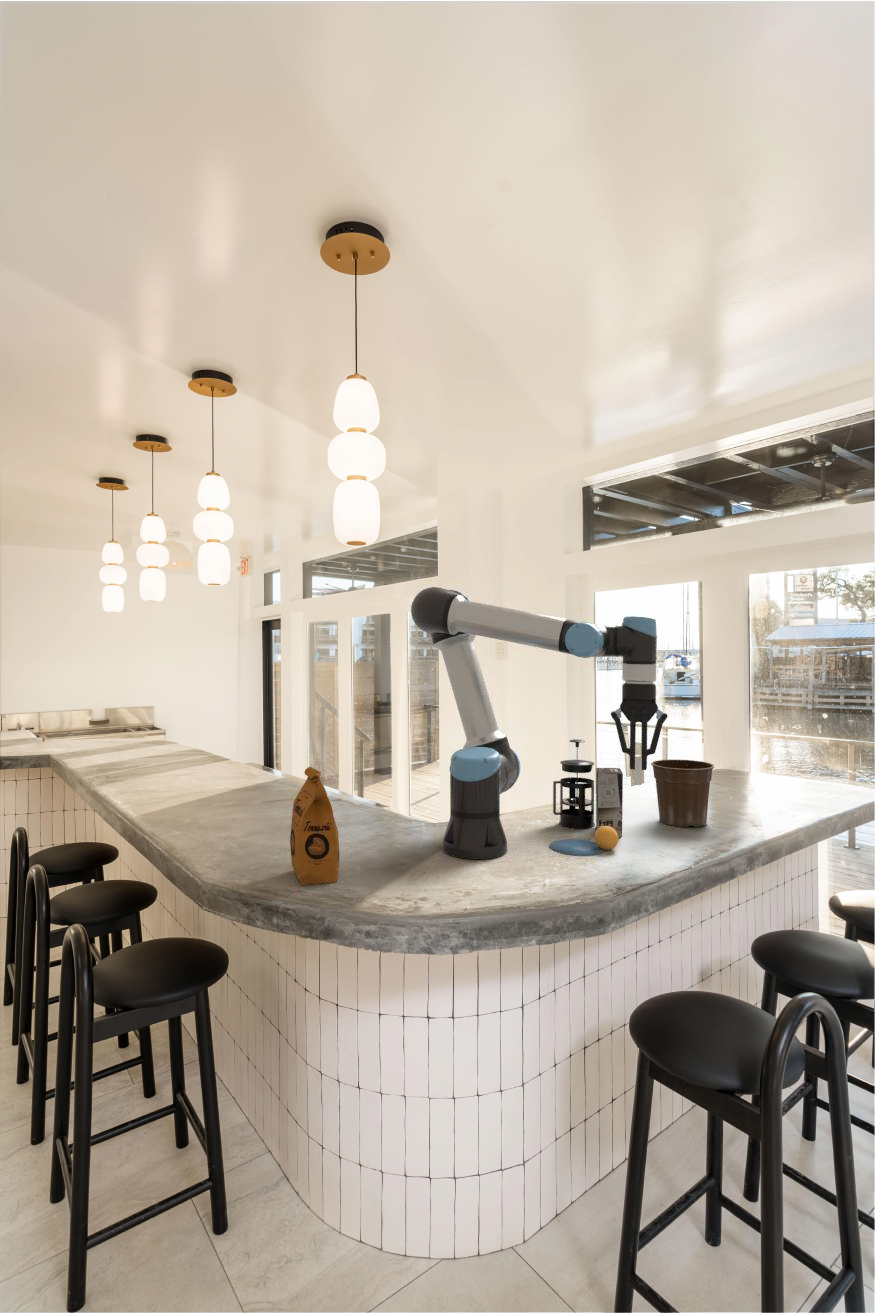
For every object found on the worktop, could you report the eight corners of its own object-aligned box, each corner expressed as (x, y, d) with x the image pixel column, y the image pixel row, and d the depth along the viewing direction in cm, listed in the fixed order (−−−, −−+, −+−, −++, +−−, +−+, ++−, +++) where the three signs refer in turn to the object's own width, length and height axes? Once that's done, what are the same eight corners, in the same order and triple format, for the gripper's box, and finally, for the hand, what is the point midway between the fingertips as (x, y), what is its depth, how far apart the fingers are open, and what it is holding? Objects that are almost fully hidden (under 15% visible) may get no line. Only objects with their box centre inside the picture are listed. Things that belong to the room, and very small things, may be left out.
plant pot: (642, 824, 181) (643, 764, 181) (660, 812, 194) (660, 757, 194) (705, 833, 172) (706, 771, 172) (719, 820, 185) (720, 762, 185)
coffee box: (623, 837, 168) (623, 773, 168) (596, 836, 169) (597, 772, 169) (620, 828, 177) (620, 767, 176) (595, 827, 178) (595, 766, 178)
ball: (621, 836, 154) (610, 856, 154) (623, 831, 159) (612, 851, 160) (600, 823, 156) (589, 844, 156) (602, 819, 161) (591, 839, 161)
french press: (590, 819, 185) (591, 737, 185) (602, 829, 176) (602, 741, 176) (549, 820, 184) (549, 737, 184) (558, 829, 175) (558, 742, 175)
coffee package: (291, 888, 131) (291, 777, 131) (289, 868, 143) (289, 766, 143) (342, 884, 134) (342, 775, 134) (335, 865, 146) (335, 764, 146)
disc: (546, 852, 155) (546, 852, 155) (552, 837, 167) (552, 837, 167) (604, 857, 151) (604, 856, 151) (605, 842, 164) (605, 841, 164)
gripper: (667, 682, 157) (666, 782, 157) (610, 681, 161) (609, 779, 161) (669, 683, 150) (668, 788, 150) (609, 682, 153) (608, 785, 154)
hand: (638, 783), depth 155 cm, fingers closed
